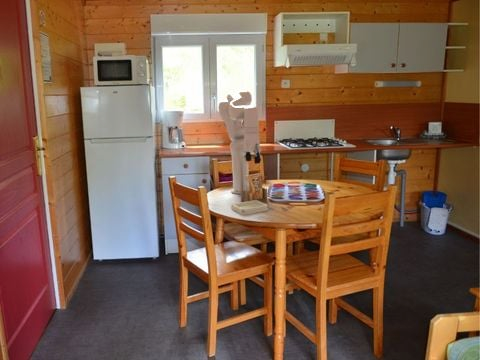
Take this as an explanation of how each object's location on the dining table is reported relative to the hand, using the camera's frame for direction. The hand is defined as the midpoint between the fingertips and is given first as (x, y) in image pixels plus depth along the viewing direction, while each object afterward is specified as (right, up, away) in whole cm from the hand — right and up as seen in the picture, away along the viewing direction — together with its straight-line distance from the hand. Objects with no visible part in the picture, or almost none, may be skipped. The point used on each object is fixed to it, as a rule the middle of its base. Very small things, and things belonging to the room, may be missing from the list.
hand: (252, 162), depth 232 cm
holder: (+1, -22, +5) cm, 22 cm away
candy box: (+1, -22, +5) cm, 23 cm away
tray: (-2, -25, -9) cm, 27 cm away
